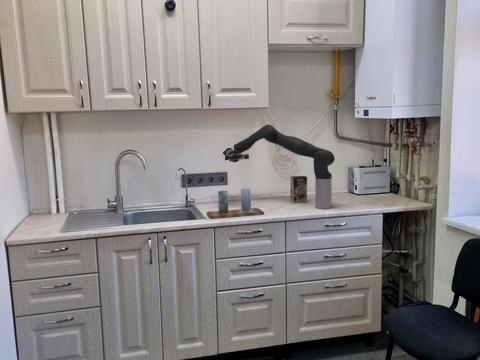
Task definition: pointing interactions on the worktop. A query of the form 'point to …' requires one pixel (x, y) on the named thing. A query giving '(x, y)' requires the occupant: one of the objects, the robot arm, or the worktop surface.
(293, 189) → the coffee box
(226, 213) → the board
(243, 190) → the column
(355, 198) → the worktop surface
